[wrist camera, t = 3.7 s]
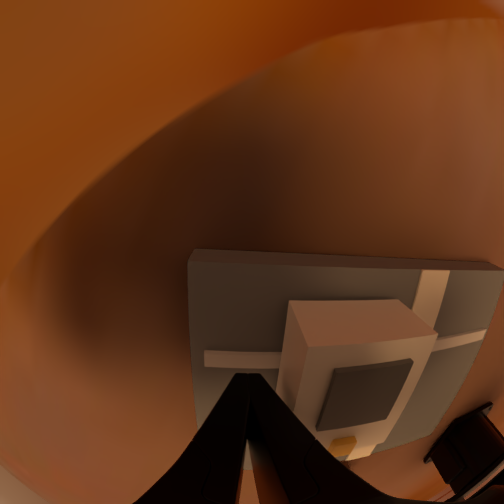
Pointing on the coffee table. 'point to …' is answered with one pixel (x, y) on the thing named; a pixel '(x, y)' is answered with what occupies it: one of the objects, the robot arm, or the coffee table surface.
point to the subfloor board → (333, 289)
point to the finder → (351, 368)
